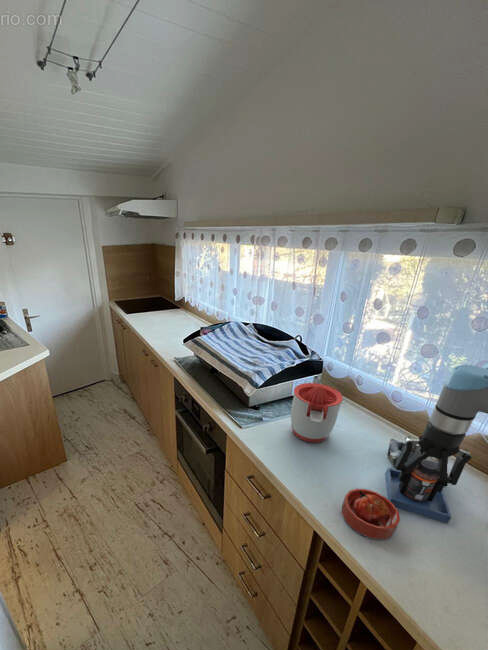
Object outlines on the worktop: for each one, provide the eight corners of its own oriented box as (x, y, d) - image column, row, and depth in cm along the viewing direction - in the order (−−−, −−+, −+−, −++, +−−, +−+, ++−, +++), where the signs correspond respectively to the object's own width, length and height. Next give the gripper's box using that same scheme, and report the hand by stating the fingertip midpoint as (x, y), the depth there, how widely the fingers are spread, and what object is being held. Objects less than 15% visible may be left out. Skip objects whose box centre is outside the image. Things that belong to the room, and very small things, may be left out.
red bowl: (391, 509, 82) (397, 498, 80) (396, 548, 72) (402, 536, 70) (342, 494, 87) (345, 483, 85) (340, 528, 77) (344, 516, 75)
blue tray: (437, 488, 89) (440, 481, 87) (447, 523, 78) (451, 516, 77) (384, 473, 94) (387, 467, 93) (388, 505, 83) (391, 498, 82)
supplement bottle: (423, 506, 82) (439, 475, 77) (398, 494, 86) (412, 463, 81) (429, 494, 85) (445, 464, 80) (405, 483, 89) (418, 453, 84)
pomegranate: (384, 525, 80) (365, 486, 84) (404, 525, 73) (382, 484, 77) (360, 534, 78) (342, 495, 82) (378, 535, 72) (357, 492, 76)
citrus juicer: (285, 445, 106) (294, 395, 97) (287, 418, 121) (295, 372, 111) (334, 454, 102) (348, 403, 92) (330, 425, 116) (342, 378, 107)
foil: (427, 446, 100) (453, 450, 86) (422, 478, 99) (447, 488, 85) (387, 437, 103) (406, 439, 89) (381, 468, 103) (399, 476, 88)
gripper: (491, 428, 74) (453, 495, 85) (400, 409, 81) (375, 474, 92) (503, 446, 68) (460, 516, 79) (403, 424, 75) (376, 491, 86)
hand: (414, 493), depth 85 cm, fingers closed on supplement bottle, 6 cm apart
